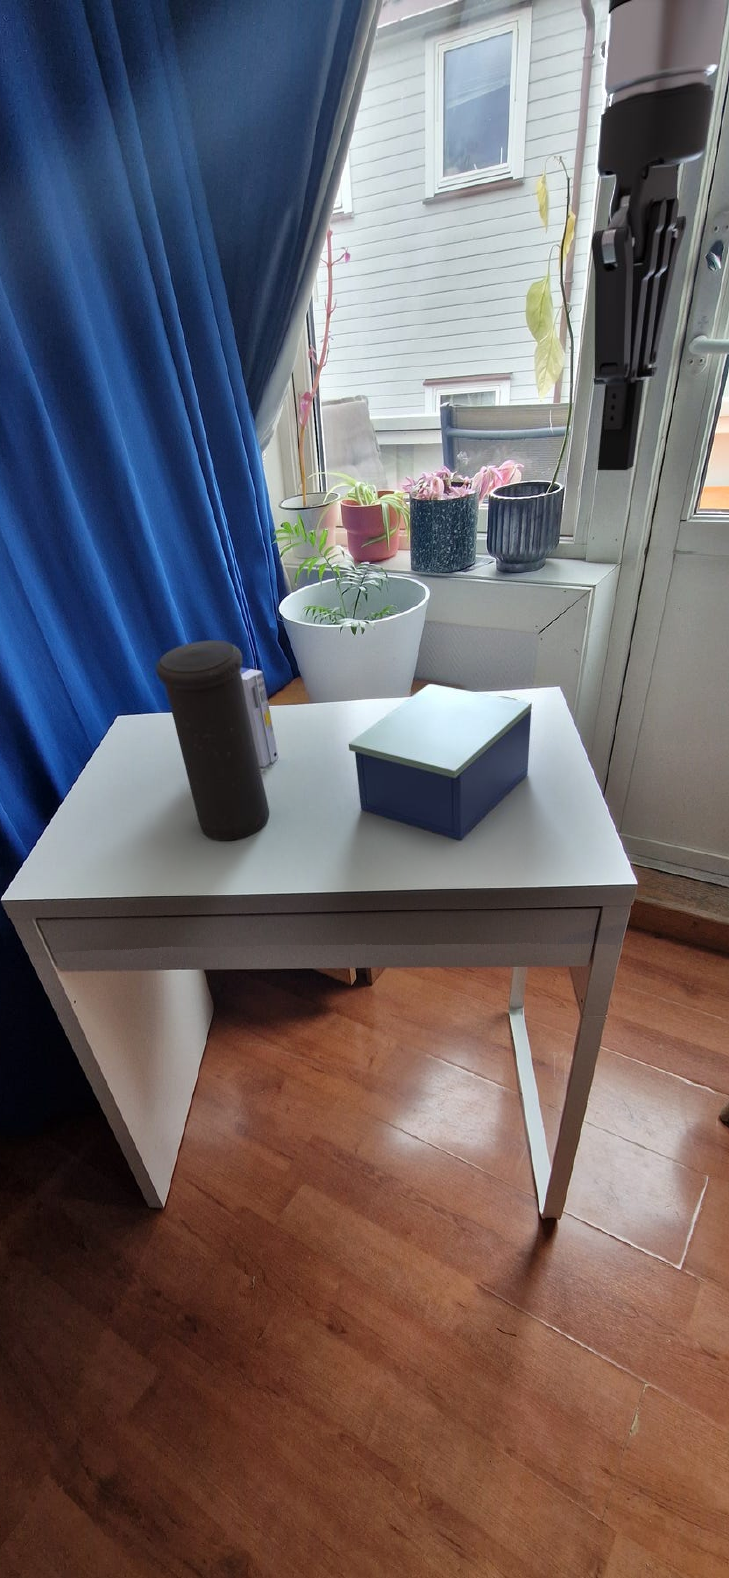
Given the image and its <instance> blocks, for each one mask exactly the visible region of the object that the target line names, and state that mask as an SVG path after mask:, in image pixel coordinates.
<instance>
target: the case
mask: <svg viewBox="0 0 729 1578" xmlns="http://www.w3.org/2000/svg"><path fill="white" fill-rule="evenodd" d="M531 721H532V709H531V710H530V711H529V712H528V713H527V714H526V715H525V716H524V717H523V718H522V719H520V720H519V721H518V722H517V723H516V724H515V725H514V726H513V727H512V728H510V729H509V730H508V731H507V732H506V733H505V734H504V735H503V736H502V737H500V738H499V739H498V740H497V741H496V742H495V743H494V744H493V745H491V746H490V747H489V748H488V749H487V750H486V751H485V752H484V753H483V754H481V755H480V756H479V757H478V758H477V759H476V760H475V761H474V762H473V763H471V764H470V765H469V766H468V767H467V768H466V769H465V770H464V771H463V772H461V773H460V774H459V775H458V776H457V777H456V778H453V777H449V776H445V775H441V774H438V773H434V772H430V771H426V770H422V769H419V768H415V767H411V766H407V765H403V764H400V763H396V762H392V761H388V760H384V759H381V758H377V757H373V756H369V755H365V754H361V753H358V752H354V756H355V764H356V765H355V767H356V776H357V785H358V794H359V803H360V810H362V811H365V812H368V813H372V814H374V815H377V816H381V817H384V818H386V819H387V818H388V819H390V820H394V821H396V822H399V823H403V824H407V825H410V826H412V827H416V828H419V829H422V830H425V831H429V832H431V833H435V834H438V835H442V836H444V837H447V838H451V839H453V840H457V841H462V840H463V839H464V838H465V837H466V836H467V835H468V834H469V833H470V832H471V831H472V830H473V829H474V828H475V827H476V826H477V825H478V824H479V823H480V822H481V821H482V820H483V819H484V818H485V817H486V816H487V815H488V814H489V813H490V812H491V811H492V810H493V809H494V808H495V807H496V806H497V805H498V804H499V803H500V802H501V801H502V800H503V799H504V798H505V797H507V795H508V794H509V793H510V792H512V790H513V789H514V788H516V786H518V784H519V783H520V782H521V781H523V780H524V779H525V778H526V777H527V776H528V774H529V756H530V755H529V754H530V737H531Z"/></svg>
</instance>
